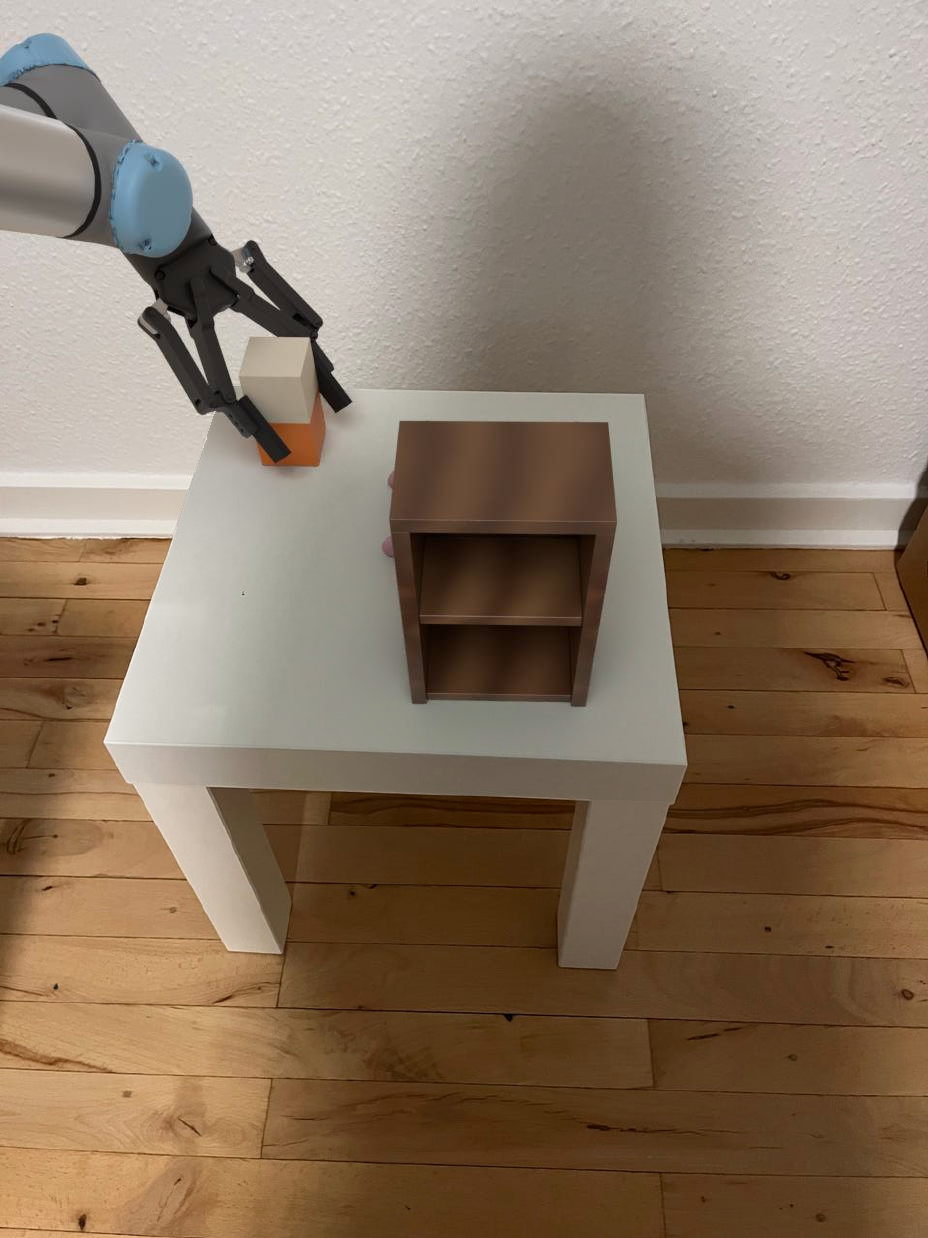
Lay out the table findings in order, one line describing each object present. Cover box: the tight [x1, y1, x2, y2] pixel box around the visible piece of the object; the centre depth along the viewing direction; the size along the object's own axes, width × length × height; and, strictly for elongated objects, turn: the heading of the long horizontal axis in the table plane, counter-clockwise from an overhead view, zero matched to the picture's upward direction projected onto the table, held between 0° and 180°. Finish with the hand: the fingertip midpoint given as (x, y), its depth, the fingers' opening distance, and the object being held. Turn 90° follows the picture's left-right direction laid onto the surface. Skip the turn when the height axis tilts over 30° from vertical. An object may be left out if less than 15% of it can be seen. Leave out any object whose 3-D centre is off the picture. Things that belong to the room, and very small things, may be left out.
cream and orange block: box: [238, 336, 327, 467], centre depth 88 cm, size 6×6×11 cm
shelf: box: [388, 420, 618, 708], centre depth 68 cm, size 14×9×22 cm, turn 88°
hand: (314, 432), depth 88 cm, fingers open, 8 cm apart
